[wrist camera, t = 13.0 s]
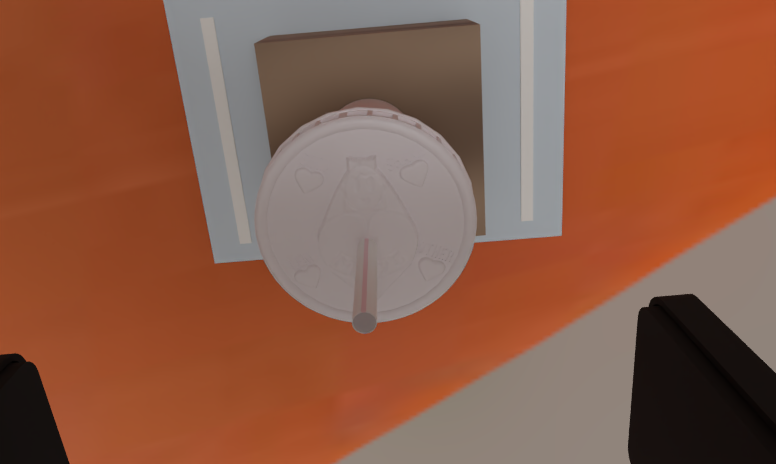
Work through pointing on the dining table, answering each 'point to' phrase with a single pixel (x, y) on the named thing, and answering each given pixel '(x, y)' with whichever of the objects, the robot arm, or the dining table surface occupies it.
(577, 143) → the dining table surface
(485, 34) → the base
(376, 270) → the smoothie
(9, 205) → the dining table surface
